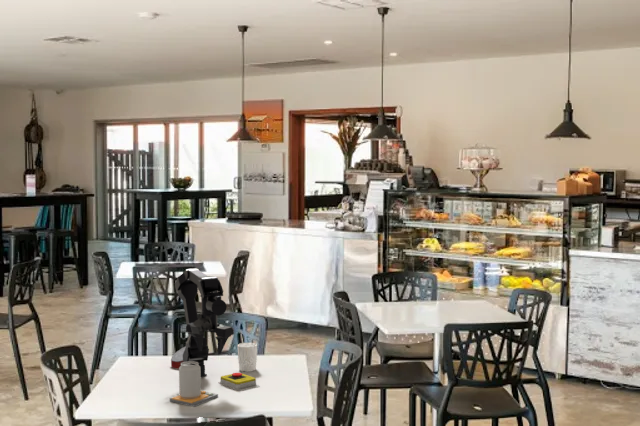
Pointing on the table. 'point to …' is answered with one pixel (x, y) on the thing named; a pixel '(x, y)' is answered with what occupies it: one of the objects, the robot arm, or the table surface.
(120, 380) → the table surface
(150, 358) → the table surface
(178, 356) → the grey red slanted block
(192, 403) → the indicator board
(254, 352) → the white cup
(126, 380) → the table surface
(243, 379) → the emergency button
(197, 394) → the can
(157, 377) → the table surface
